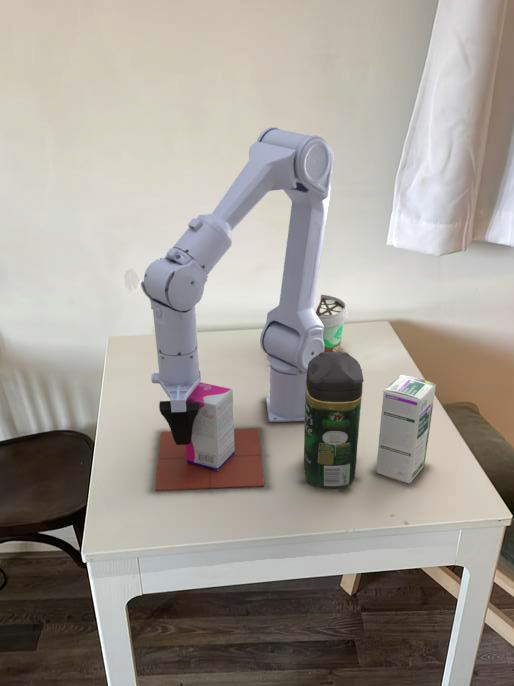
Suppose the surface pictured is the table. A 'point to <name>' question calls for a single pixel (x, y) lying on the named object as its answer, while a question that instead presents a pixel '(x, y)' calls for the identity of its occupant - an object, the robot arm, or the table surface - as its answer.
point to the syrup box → (405, 427)
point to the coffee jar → (332, 419)
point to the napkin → (233, 474)
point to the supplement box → (211, 427)
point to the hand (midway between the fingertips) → (183, 429)
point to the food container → (332, 321)
